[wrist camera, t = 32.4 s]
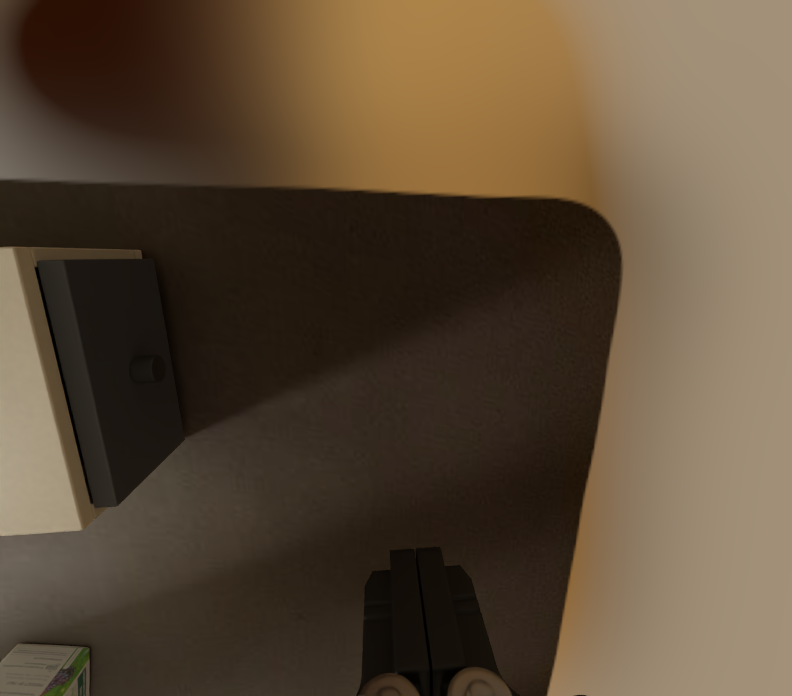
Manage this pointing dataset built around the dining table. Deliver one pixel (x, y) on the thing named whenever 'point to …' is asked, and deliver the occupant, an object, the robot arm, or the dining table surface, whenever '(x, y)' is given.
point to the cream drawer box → (37, 405)
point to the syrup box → (45, 671)
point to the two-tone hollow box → (113, 368)
